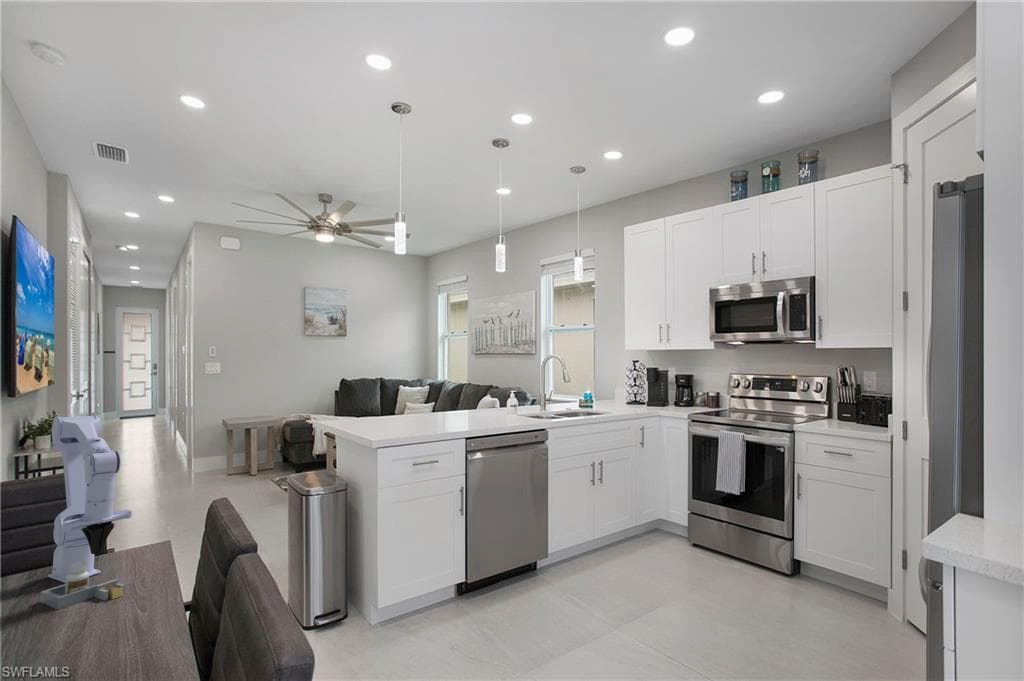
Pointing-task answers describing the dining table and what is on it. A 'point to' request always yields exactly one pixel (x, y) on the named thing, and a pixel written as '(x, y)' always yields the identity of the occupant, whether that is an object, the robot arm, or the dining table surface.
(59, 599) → the dock bay
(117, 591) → the lock bar
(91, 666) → the dining table surface
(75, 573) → the pill bottle
